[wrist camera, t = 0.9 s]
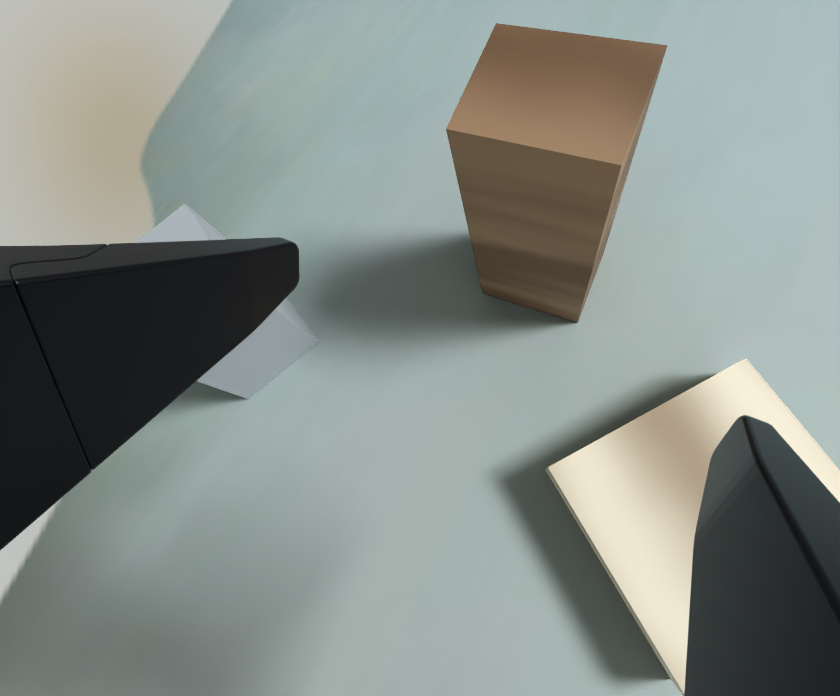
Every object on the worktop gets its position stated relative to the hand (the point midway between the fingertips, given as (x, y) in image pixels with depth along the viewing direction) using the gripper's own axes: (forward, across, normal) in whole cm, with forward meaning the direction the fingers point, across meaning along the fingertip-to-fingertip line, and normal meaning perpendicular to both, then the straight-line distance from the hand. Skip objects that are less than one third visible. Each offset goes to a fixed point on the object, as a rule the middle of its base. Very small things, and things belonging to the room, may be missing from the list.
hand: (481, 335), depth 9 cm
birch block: (+10, -8, +11) cm, 17 cm away
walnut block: (+16, +2, +6) cm, 17 cm away
